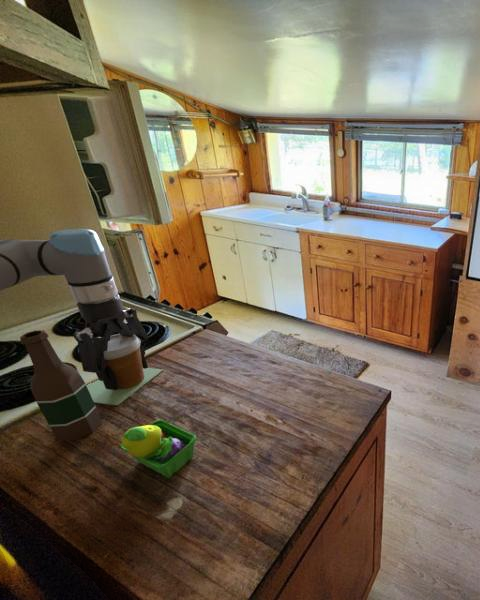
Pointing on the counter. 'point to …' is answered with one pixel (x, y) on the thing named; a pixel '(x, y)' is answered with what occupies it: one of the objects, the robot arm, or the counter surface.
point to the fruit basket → (160, 446)
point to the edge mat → (119, 395)
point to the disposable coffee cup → (125, 360)
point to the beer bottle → (60, 391)
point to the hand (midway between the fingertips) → (128, 377)
